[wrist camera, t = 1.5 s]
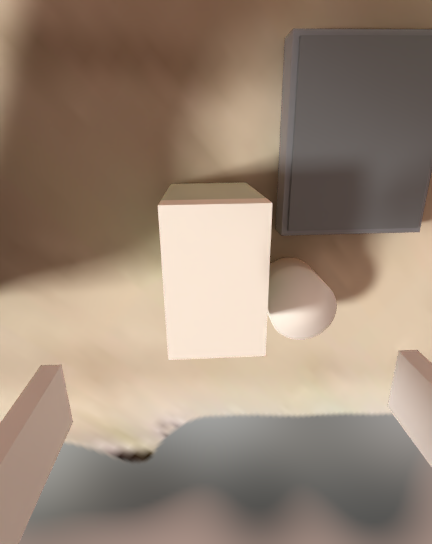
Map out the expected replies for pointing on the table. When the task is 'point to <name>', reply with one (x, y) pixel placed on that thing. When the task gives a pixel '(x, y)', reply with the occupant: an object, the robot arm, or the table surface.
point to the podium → (355, 131)
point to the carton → (215, 269)
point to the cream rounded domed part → (298, 299)
